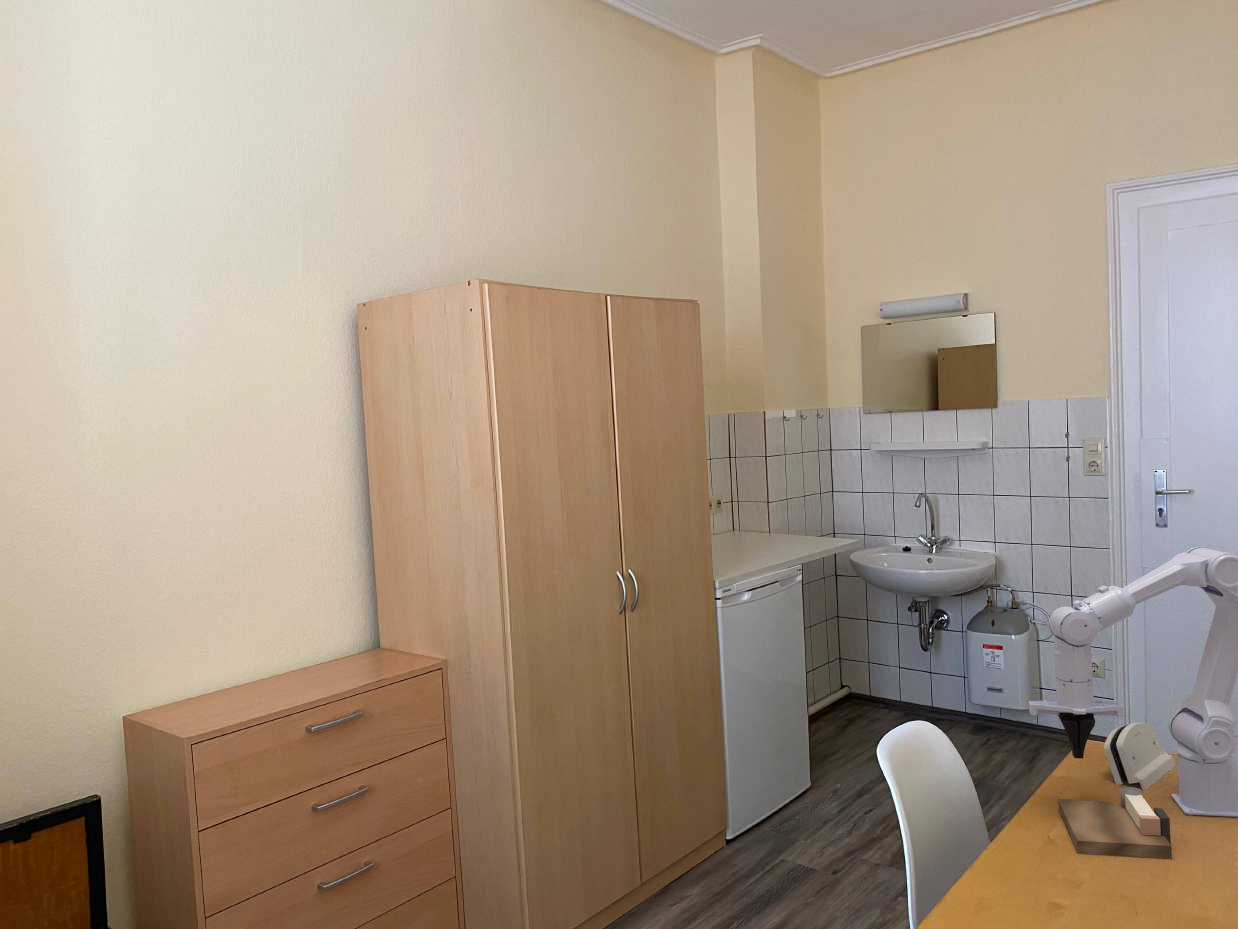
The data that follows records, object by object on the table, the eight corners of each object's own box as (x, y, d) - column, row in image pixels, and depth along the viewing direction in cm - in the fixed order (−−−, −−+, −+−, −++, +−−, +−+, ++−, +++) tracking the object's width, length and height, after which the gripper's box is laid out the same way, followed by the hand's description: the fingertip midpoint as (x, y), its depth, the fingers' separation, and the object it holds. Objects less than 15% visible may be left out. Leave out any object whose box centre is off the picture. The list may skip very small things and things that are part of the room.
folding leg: (1118, 802, 157) (1118, 786, 156) (1139, 803, 156) (1139, 787, 156) (1140, 834, 144) (1139, 817, 144) (1162, 835, 143) (1162, 818, 143)
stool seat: (1147, 815, 156) (1146, 786, 156) (1177, 859, 140) (1176, 828, 140) (1058, 810, 160) (1057, 783, 159) (1077, 853, 144) (1076, 823, 144)
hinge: (1145, 790, 166) (1122, 735, 168) (1118, 793, 169) (1097, 739, 171) (1176, 764, 177) (1155, 712, 179) (1151, 767, 180) (1130, 716, 182)
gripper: (1031, 683, 157) (1035, 763, 157) (1126, 685, 153) (1130, 766, 153) (1025, 673, 163) (1029, 749, 164) (1116, 674, 159) (1120, 751, 160)
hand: (1077, 756), depth 159 cm, fingers closed
